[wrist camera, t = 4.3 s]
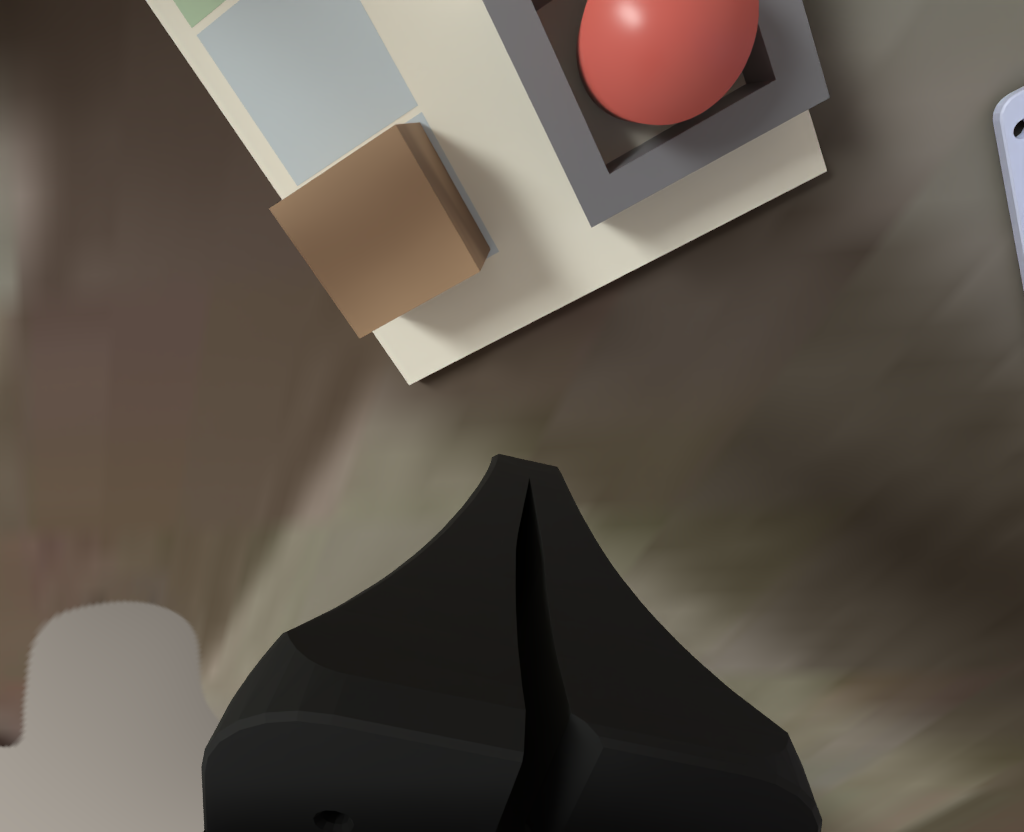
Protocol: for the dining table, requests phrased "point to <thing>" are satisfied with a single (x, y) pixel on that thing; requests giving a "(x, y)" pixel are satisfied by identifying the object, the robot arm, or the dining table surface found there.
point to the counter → (384, 228)
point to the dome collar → (685, 146)
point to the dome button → (663, 55)
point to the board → (461, 146)
